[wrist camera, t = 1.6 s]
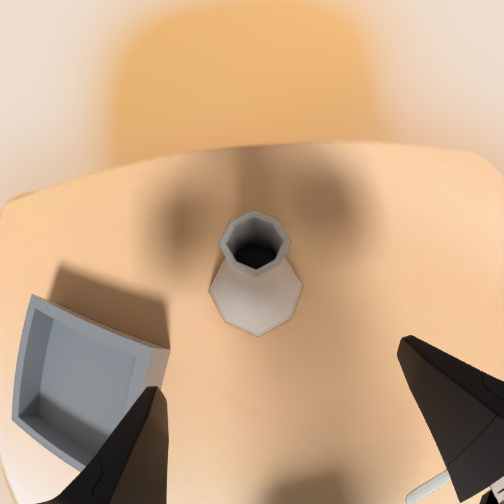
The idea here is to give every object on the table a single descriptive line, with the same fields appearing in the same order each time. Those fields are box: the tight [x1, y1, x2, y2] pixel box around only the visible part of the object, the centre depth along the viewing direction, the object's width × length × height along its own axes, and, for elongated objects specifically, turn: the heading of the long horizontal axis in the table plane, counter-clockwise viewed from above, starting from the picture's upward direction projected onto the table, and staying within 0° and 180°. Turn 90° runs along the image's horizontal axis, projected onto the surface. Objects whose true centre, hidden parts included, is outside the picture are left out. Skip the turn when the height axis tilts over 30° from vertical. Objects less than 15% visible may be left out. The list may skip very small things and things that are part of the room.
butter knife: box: [406, 470, 451, 504], centre depth 15 cm, size 1×27×3 cm
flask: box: [208, 210, 304, 337], centre depth 18 cm, size 7×7×10 cm
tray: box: [12, 294, 170, 472], centre depth 17 cm, size 13×13×4 cm
